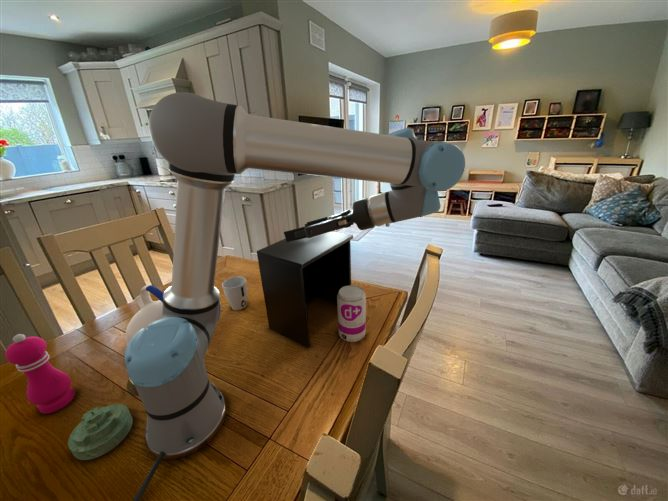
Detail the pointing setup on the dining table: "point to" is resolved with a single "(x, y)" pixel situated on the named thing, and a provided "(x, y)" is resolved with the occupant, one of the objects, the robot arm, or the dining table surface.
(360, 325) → the supplement can
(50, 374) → the pepper mill
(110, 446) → the decorative artifact
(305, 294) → the box
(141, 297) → the kettle
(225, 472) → the dining table surface
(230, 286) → the cup
